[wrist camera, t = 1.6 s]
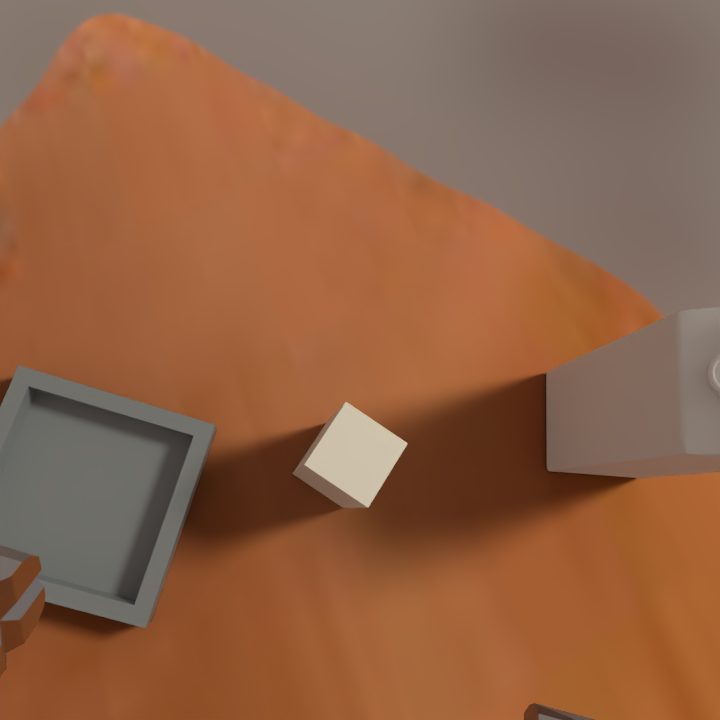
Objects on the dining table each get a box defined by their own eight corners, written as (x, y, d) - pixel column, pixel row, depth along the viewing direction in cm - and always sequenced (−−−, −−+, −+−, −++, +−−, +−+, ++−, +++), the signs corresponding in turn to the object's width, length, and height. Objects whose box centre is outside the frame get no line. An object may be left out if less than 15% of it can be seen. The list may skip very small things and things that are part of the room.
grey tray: (151, 621, 39) (145, 628, 37) (-51, 566, 38) (-72, 570, 36) (216, 429, 42) (215, 424, 40) (31, 373, 41) (18, 365, 39)
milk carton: (635, 381, 48) (874, 302, 30) (639, 478, 46) (894, 458, 28) (544, 371, 47) (734, 284, 29) (545, 471, 45) (747, 445, 27)
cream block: (343, 508, 43) (368, 507, 34) (292, 473, 42) (304, 464, 34) (375, 456, 44) (407, 443, 35) (326, 423, 44) (345, 401, 35)
